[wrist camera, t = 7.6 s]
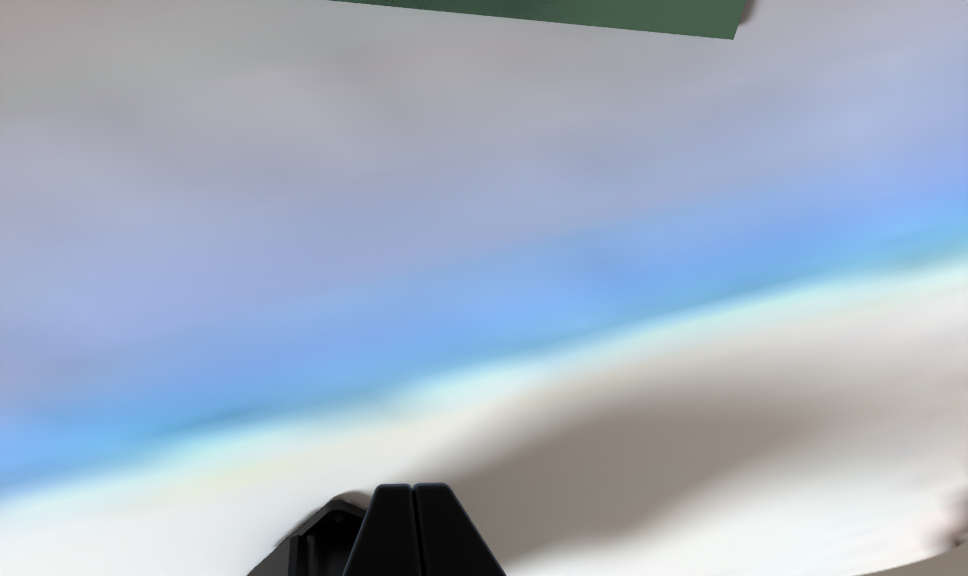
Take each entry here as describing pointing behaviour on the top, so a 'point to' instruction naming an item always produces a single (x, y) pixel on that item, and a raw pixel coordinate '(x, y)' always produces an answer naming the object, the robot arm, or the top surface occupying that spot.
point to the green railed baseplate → (601, 13)
